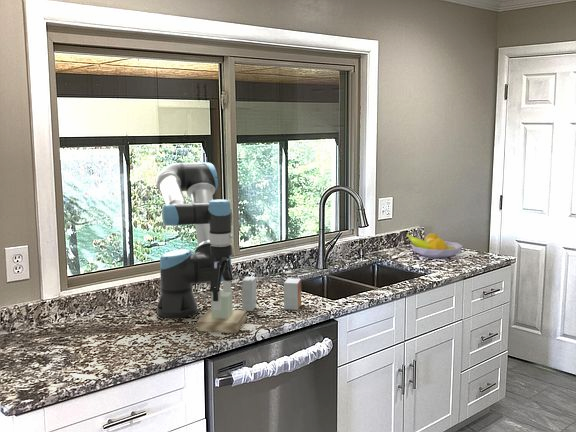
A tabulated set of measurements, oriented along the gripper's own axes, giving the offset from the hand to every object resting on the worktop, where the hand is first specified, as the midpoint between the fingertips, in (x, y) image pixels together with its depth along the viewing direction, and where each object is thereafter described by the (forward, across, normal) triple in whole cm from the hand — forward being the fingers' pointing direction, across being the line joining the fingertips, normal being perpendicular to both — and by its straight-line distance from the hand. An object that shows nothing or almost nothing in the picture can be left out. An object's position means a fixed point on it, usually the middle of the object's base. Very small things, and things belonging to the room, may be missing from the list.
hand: (222, 304), depth 214 cm
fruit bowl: (+8, +128, -81) cm, 152 cm away
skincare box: (+8, +20, -5) cm, 22 cm away
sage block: (+4, 0, 0) cm, 4 cm away
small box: (+8, +25, -21) cm, 34 cm away
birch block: (+8, 0, 0) cm, 8 cm away
